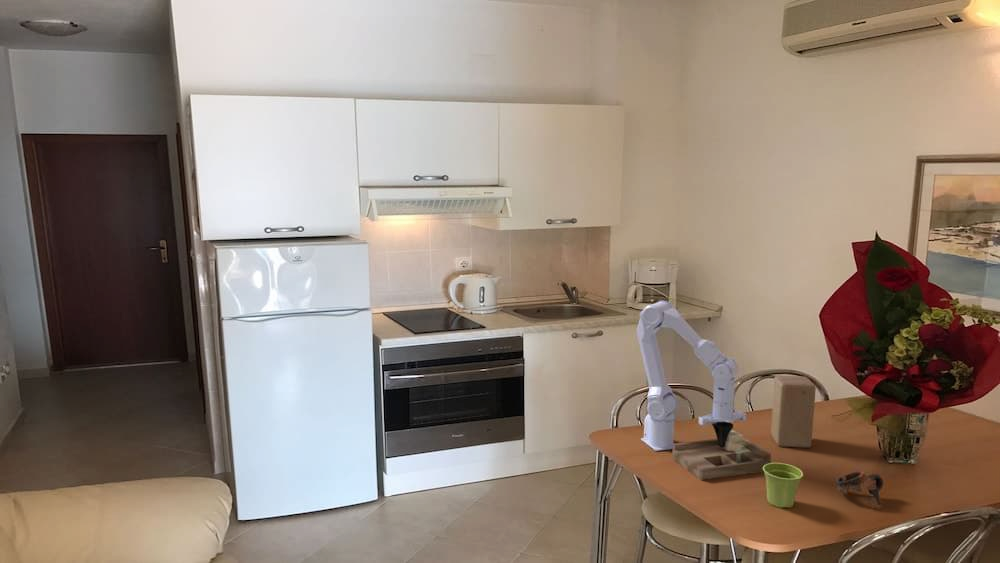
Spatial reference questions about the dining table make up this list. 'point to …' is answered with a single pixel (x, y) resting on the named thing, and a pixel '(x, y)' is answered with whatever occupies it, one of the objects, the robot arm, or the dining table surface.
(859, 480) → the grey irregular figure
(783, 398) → the wooden block
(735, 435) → the maple block
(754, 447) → the trap box
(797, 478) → the plant pot
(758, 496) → the dining table surface
